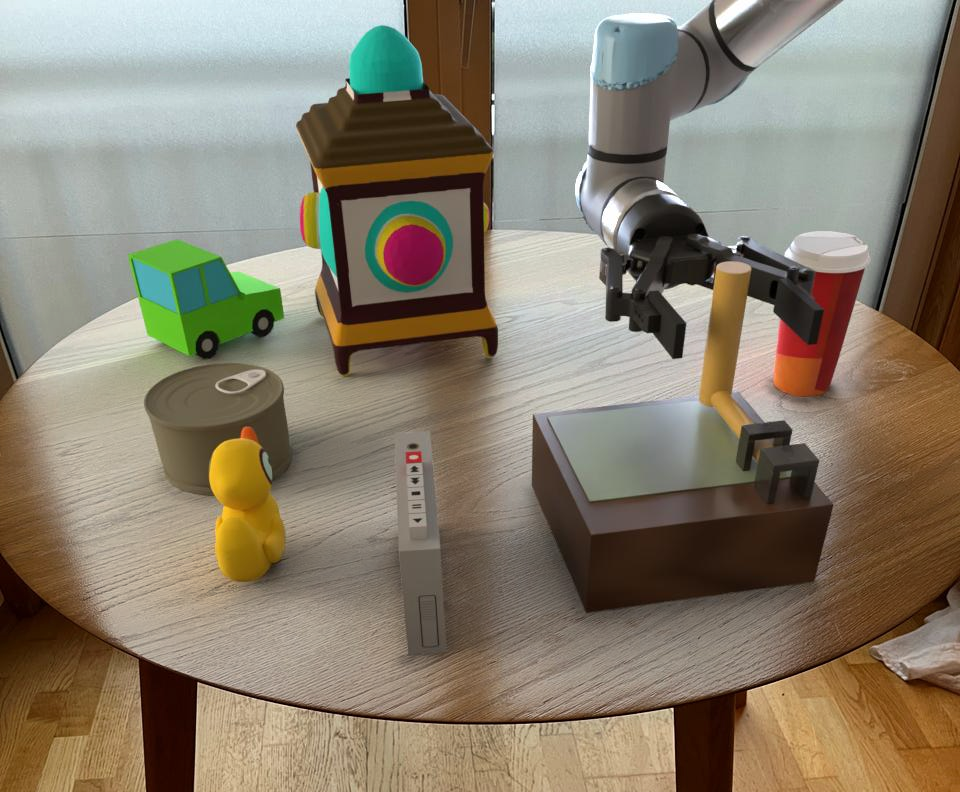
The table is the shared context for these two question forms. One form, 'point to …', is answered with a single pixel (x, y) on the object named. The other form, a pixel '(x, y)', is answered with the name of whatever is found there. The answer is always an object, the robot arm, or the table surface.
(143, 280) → the toy car
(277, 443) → the can
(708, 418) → the chest
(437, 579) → the cassette player
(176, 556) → the table surface
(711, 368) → the bolt
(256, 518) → the duckling
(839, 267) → the paper cup
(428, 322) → the decorative lantern
